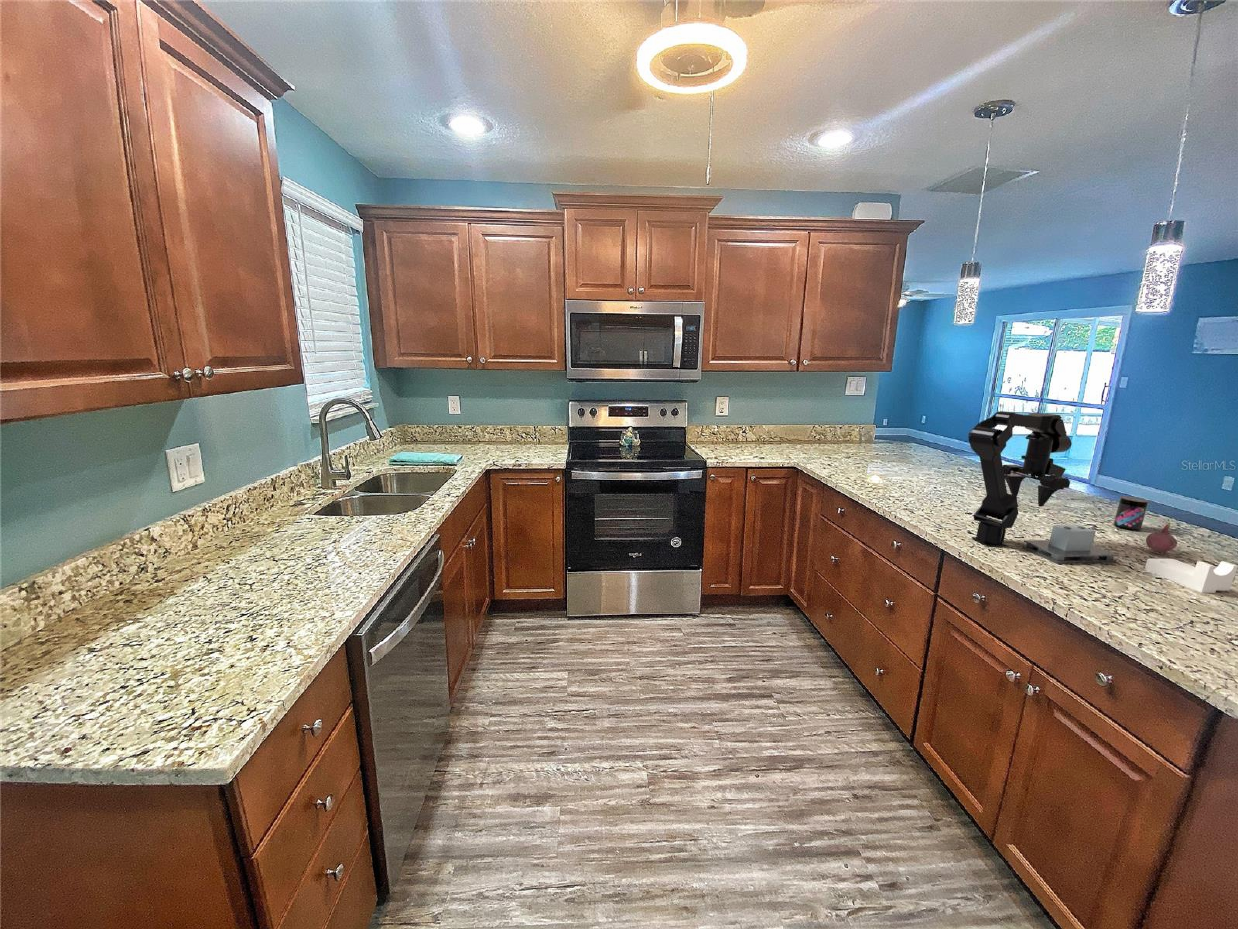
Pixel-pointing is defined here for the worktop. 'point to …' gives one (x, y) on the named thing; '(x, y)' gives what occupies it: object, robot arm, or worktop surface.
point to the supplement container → (1130, 513)
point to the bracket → (1194, 574)
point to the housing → (1072, 537)
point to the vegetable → (1161, 541)
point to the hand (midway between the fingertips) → (1027, 501)
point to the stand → (1069, 553)
